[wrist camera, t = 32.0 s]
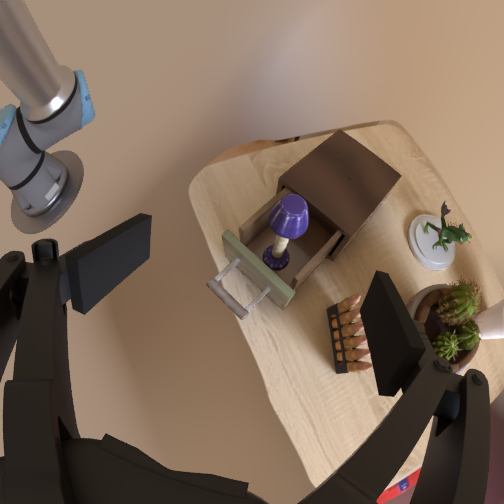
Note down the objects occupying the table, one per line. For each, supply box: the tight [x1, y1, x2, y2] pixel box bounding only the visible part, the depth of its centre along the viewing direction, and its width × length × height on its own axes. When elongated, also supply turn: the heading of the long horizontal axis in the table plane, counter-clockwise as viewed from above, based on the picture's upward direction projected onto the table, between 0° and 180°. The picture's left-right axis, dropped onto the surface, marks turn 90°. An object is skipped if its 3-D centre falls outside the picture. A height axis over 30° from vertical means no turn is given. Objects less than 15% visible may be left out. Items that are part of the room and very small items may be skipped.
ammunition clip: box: [327, 294, 373, 374], centre depth 37 cm, size 11×2×12 cm, turn 6°
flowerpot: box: [406, 275, 484, 375], centre depth 33 cm, size 14×15×20 cm
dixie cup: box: [477, 299, 504, 339], centre depth 38 cm, size 8×8×10 cm
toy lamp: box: [263, 194, 309, 270], centre depth 38 cm, size 5×5×17 cm
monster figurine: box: [408, 202, 471, 271], centre depth 45 cm, size 12×12×10 cm
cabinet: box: [276, 129, 401, 261], centre depth 47 cm, size 17×14×10 cm
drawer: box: [206, 187, 344, 320], centre depth 43 cm, size 22×13×8 cm, turn 135°
